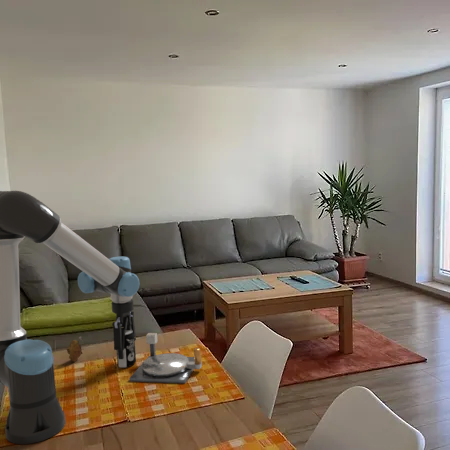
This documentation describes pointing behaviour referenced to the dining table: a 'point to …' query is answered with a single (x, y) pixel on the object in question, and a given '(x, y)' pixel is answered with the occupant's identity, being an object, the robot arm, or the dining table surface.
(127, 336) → the beverage can
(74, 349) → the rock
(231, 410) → the dining table surface
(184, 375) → the turntable base
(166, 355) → the turntable
